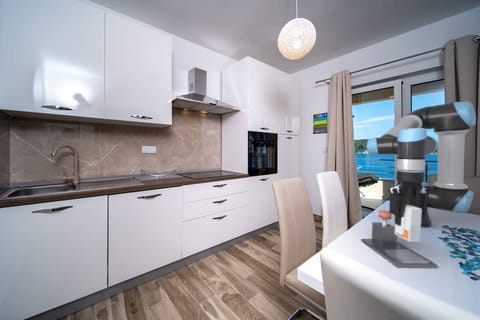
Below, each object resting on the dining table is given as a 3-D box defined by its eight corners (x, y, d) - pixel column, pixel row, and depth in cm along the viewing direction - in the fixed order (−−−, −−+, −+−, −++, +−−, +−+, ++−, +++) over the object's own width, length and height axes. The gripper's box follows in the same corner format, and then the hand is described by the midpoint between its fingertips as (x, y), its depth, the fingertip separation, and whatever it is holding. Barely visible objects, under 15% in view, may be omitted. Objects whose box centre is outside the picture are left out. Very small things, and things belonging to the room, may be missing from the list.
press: (392, 241, 83) (393, 221, 83) (437, 268, 64) (438, 242, 64) (361, 241, 83) (362, 221, 83) (397, 267, 64) (398, 242, 64)
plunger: (385, 233, 81) (386, 210, 80) (393, 238, 77) (394, 213, 76) (375, 233, 81) (376, 210, 80) (382, 238, 77) (384, 213, 76)
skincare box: (393, 234, 71) (395, 203, 70) (404, 234, 71) (406, 203, 71) (409, 242, 65) (411, 208, 64) (420, 241, 65) (422, 208, 65)
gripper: (423, 170, 71) (420, 229, 72) (378, 169, 71) (375, 229, 72) (445, 172, 63) (441, 238, 64) (394, 171, 63) (391, 238, 64)
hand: (406, 233), depth 68 cm, fingers closed on skincare box, 4 cm apart
